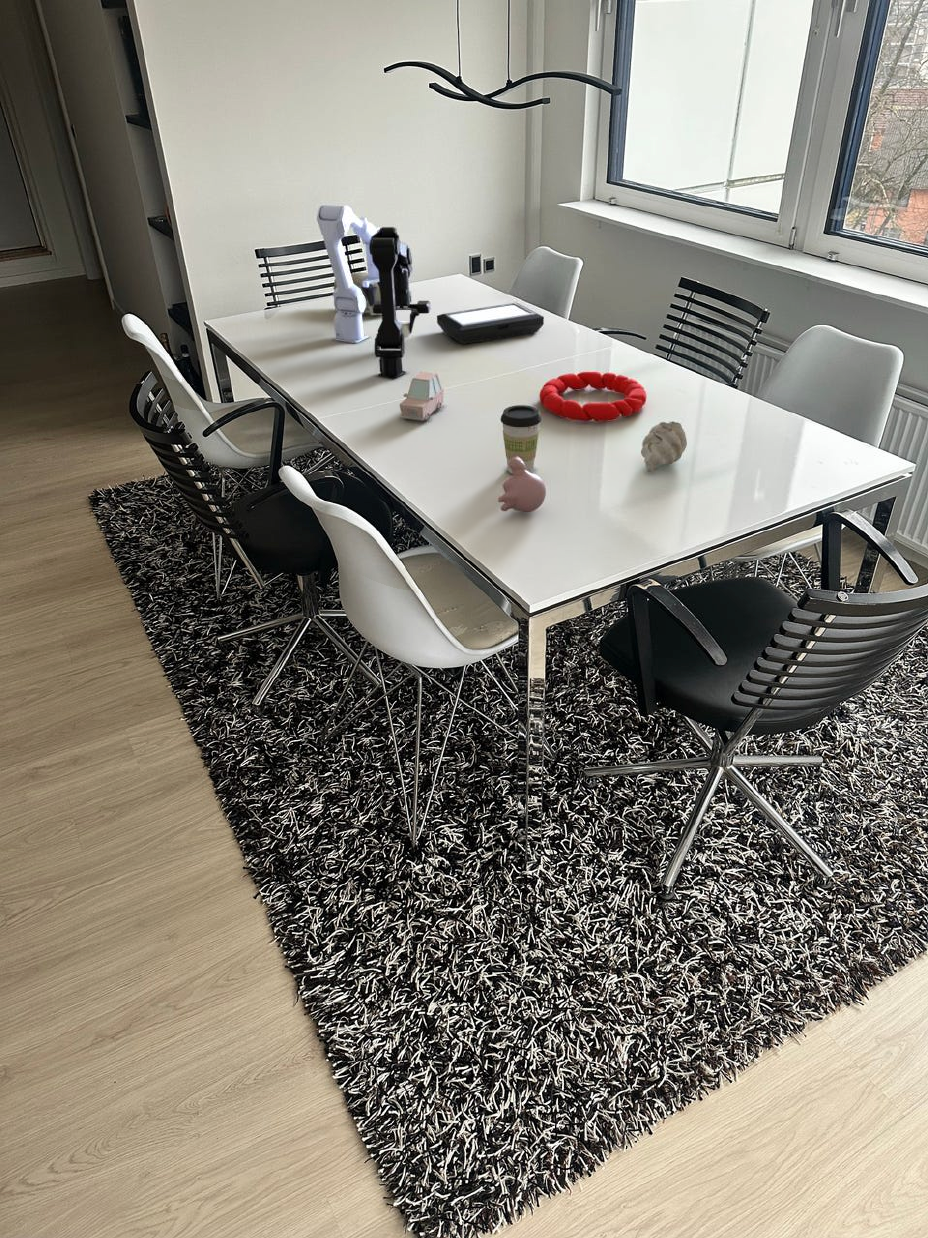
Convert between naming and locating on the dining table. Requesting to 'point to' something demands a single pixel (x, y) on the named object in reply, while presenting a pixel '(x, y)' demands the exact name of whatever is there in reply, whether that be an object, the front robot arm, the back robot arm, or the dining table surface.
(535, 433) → the coffee cup
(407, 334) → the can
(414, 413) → the toy car
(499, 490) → the dining table surface
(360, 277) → the animal skull
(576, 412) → the decorative ring
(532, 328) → the electronic device
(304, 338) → the dining table surface
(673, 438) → the seashell
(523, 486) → the figurine
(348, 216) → the back robot arm
